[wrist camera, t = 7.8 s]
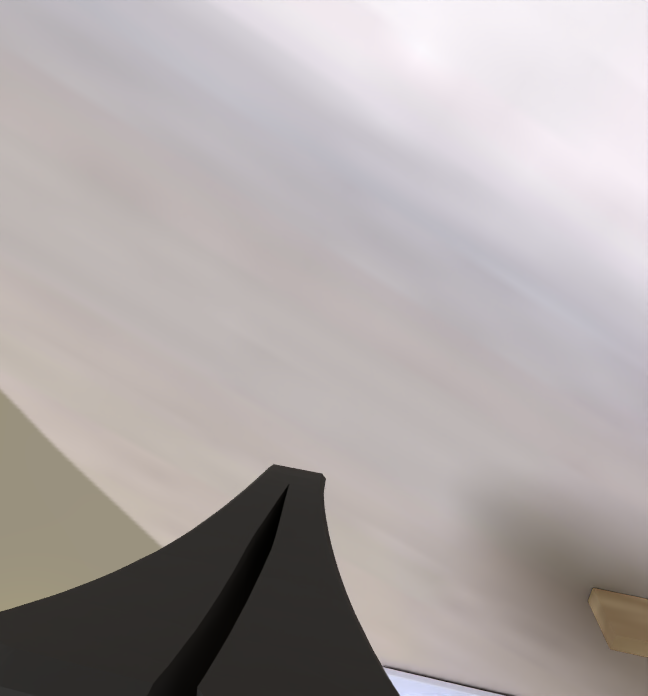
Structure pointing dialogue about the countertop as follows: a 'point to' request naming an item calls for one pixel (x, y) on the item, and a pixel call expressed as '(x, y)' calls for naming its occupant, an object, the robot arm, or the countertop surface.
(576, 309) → the countertop surface
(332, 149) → the countertop surface
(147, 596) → the robot arm
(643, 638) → the guide fence
